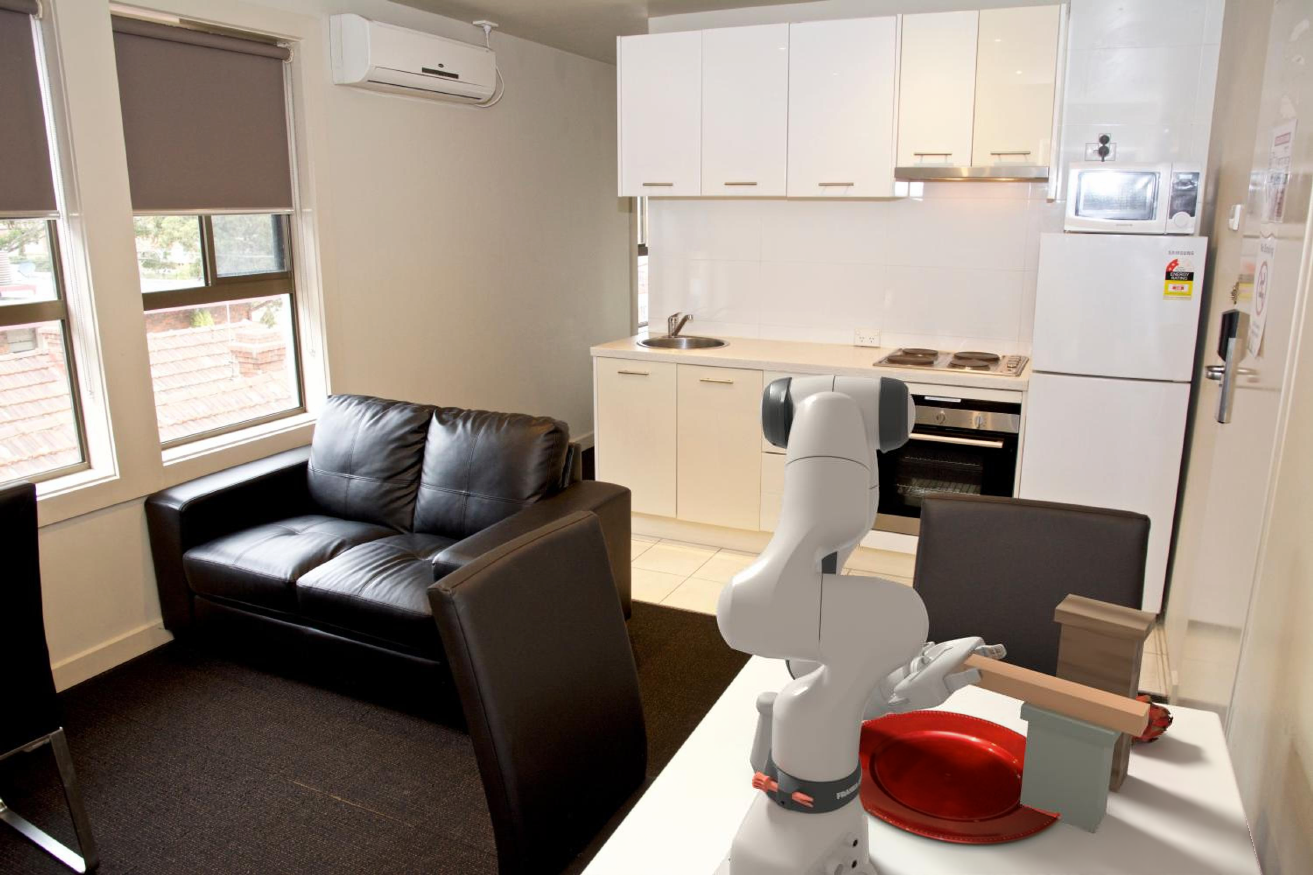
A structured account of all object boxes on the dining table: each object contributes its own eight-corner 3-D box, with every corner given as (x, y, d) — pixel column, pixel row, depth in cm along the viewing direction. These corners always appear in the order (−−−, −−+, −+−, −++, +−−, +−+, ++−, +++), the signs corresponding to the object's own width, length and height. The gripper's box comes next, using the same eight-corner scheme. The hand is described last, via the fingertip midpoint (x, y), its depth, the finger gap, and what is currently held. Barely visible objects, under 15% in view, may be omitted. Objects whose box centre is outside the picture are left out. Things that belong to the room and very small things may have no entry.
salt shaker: (787, 764, 146) (790, 687, 143) (789, 786, 140) (792, 706, 137) (749, 762, 146) (751, 685, 143) (749, 784, 141) (751, 704, 138)
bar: (1140, 737, 125) (1143, 716, 124) (961, 682, 139) (963, 663, 139) (1147, 724, 128) (1150, 704, 127) (971, 672, 142) (973, 653, 142)
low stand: (1100, 837, 129) (1113, 734, 125) (1011, 803, 136) (1021, 705, 133) (1114, 812, 134) (1126, 713, 131) (1027, 781, 142) (1037, 686, 138)
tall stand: (1123, 796, 138) (1144, 630, 132) (1038, 766, 145) (1055, 608, 139) (1135, 774, 143) (1156, 614, 137) (1052, 747, 151) (1069, 593, 145)
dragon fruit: (1086, 740, 155) (1160, 754, 155) (1110, 736, 148) (1188, 750, 147) (1086, 688, 159) (1159, 701, 158) (1109, 680, 151) (1186, 694, 150)
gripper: (871, 686, 139) (954, 667, 130) (929, 639, 155) (1006, 619, 146) (889, 727, 139) (974, 711, 130) (945, 675, 154) (1024, 657, 145)
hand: (991, 662), depth 138 cm, fingers open, 8 cm apart
